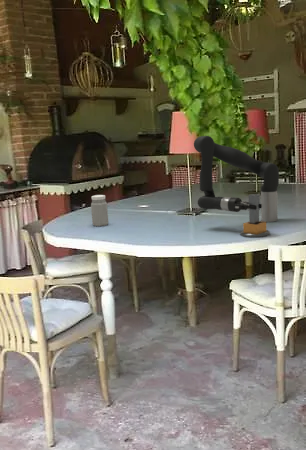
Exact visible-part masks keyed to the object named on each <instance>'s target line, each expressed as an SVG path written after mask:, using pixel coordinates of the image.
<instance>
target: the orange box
mask: <svg viewBox="0 0 306 450" xmlns="http://www.w3.org/2000/svg"><path fill="white" fill-rule="evenodd" d="M242 225H243V230H241V231H240V236H241V237H244V238H250V239H251V238H253V239H255V238H265V237H269V236H270V235H271V232H270V230H268V229H267V222H264V221H260V220H259V223H258V224H250V223H249V221H246V222H243V224H242Z"/></svg>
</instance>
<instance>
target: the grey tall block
mask: <svg viewBox="0 0 306 450" xmlns="http://www.w3.org/2000/svg"><path fill="white" fill-rule="evenodd" d="M248 202H249V205H256V206H257V209H256V210H253V209H249V210H248V211H249V213H248V214H249V221H248V222H249V223H250V224H258V223H259V221H260V211H261V208H260V204H261V194H259V193H251V194H248Z"/></svg>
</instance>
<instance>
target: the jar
mask: <svg viewBox="0 0 306 450" xmlns="http://www.w3.org/2000/svg"><path fill="white" fill-rule="evenodd" d="M90 198H91V203H90V208H91V209H90V210H91V211H90V212H91V222H92V225H93V226H94V227H105V226H107V225H108V224H109V213H108V203H107V199H106V195H105V194H95V195H92V196H91V197H90Z"/></svg>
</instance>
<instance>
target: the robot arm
mask: <svg viewBox="0 0 306 450" xmlns="http://www.w3.org/2000/svg"><path fill="white" fill-rule="evenodd" d="M193 146H194V150H196V152H198V153H200V154H201V165H200V166H201V167H200V170H199V190H200V192H203V193H204V195H203V196H200V197H199V198H198V200H197V205H198V207H199V208H200V209H202V210H220V211H225V212H231V213H232V212H234V213H239V212H240V211H247V210H248V211H249V209H253V210H256V209H257V206H256V205H249V201H246V200H243V201H242V198H240V197H233V196H216V195H215V191H214V188H213V164H214V163H213V161H214V158H216V159H217V160H220V161H222V162H224V163H225V164H228V165H230V166H233V167H235V168H238V169H241V170H245V171H248V172H251V173H252V174H255V175H256V176H258V177H260V178H262V179H263V184H262V185H261V186H260V211H261V212H260V213H261V215H260V217H261V218H260V219H261V221H262V222H266V223H273V222H278V215H279V213H278V212H279V211H278V187H279V183H280V181H279V180H280V170H279V167H278V166H277V164H276V163H272V162H266V161H261V160H258V159H256V158H253V157H252V156H250V154H248V153H246V152H245V151H242V150H240V149H238V148H234V147H231V146H227V145H221V144H219V143H217V142H215V140H214V139H213V137H212V136H210V135H201V136H198V137H197V138H195V140H194V142H193Z"/></svg>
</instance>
